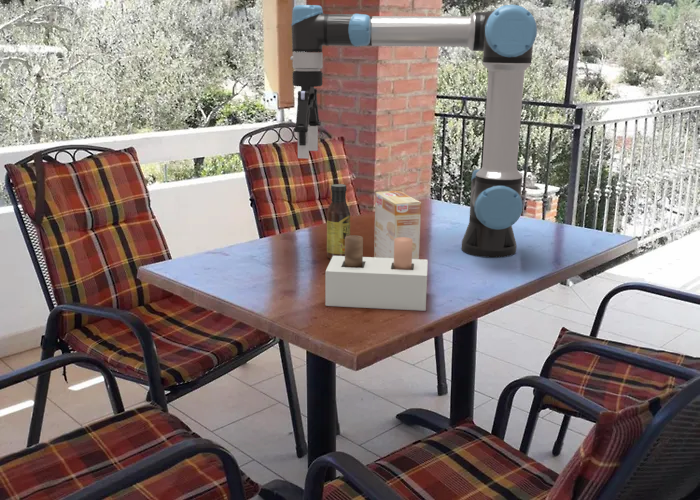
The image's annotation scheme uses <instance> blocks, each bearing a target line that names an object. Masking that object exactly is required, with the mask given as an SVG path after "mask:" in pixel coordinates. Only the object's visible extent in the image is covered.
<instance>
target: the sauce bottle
mask: <svg viewBox="0 0 700 500" xmlns="http://www.w3.org/2000/svg"><path fill="white" fill-rule="evenodd" d="M347 189H348V188H347V185H346V184H343V183H339V184H338V183H336V184H335V183H334V184H331V186H330V190H331V202H330V204H329V206H328V208H327V211H326V215H327V216H326V218H327V219H326V254H327V255H326V257H327V258H328V259H329V260H331V259H332V257H333V256H345V237H346V236H350V235H351V213H350V209H349V207H348V204H347V198H346V197H347V195H346V194H347Z"/></svg>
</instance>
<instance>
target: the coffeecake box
mask: <svg viewBox="0 0 700 500" xmlns="http://www.w3.org/2000/svg"><path fill="white" fill-rule="evenodd" d="M374 195H375V197H374V198H375V203H374V204H375V205H374V206H375V207H374V242H373V243H374V247H373V251H374V252H373V254H374V255H373V257H377V258H394V239H395V238H398V237H407V238H411V239H412V240H413V242H412V259H420V243H421V242H420V241H421V221H422V220H421V219H422V218H421V217H422V216H421V215H422V213H421V212H422V202H421V201H419V200H418V199H415V198H414V197H411V196H410V195H408V194H406V193H405V192H403V191H401V190H390V191H389V190H388V191H375V194H374Z"/></svg>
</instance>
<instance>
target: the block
mask: <svg viewBox="0 0 700 500" xmlns="http://www.w3.org/2000/svg"><path fill="white" fill-rule="evenodd" d="M428 261H429V259H425V258H424V259H420V258H419V259H412V270H397V269H394V258H377V257H374V256H372V257H371V256H363V266H362V268H351V267H345V256H333V257H332V259H330V261H329V263H328V265H327V267H326V270H325V276H324V277H325V283H324V284H325V290H324V291H325V298H324V299H325V300H324V301H325V302H324V303H325V306H326V307H342V308H343V307H344V308H360V309H361V308H363V309H366V308H367V309H383V310H384V309H385V310H402V311H403V310H404V311H405V310H406V311H424V312H425V311H427V288H428V287H427V284H428Z"/></svg>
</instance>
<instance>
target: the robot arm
mask: <svg viewBox="0 0 700 500" xmlns="http://www.w3.org/2000/svg"><path fill="white" fill-rule="evenodd" d="M291 17H292V18H291V24H290V25H291V40H292V41H291V42H292V55H291V56H290V58H289V59H290V61H292V69H294V70H293V72H292V85H293V86H294V87H300V90H298V91H297V108H296V120H295V128H293V132H294V133H297V159H306V160H307V159H310V152H317V151H319V149H318V148H319V139H318V138H319V135H318V133H319V132H318V130H319V129H318V128H319V126H321V125H322V124H321V121H320V118H319V105H318V89H317V88H318V87H322V86H323V72H322V69H323V68H324V66H323V64H324V63H323V62H324V61H323V57H324V55H323V46H326V47H327V46H331V47H332V46H333V47H334V46H335V47H336V46H337V47H338V46H341V47H437V48H438V47H441V48H442V47H447V48H449V47H450V48H451V47H452V48H454V47H455V48H456V47H457V48H468V49H469V50H470V51H471V52H483V54H482V65H483V66H484V67H485V68H486V69H487V71H488V73H487V86H486V87H487V90H486V92H487V93H486V105H485V106H486V107H485V118H484V120H485V121H484V122H485V123H484V135H483V152H482V167H481V168H477V169H474V170H473V171H472V173H471V178H470V182H471V185H470V186H471V188H470V203H469V204H470V205H469V206H470V207H469V221H468V225H467V227H466V230H465V232H464V234H463V238H462V240H461V251H462V252H463V253H466V254H467V255H471V256H475V257H482V258H490V259H491V258H496V259H497V258H506V257H510V256H513V255H515V254H516V253H517V241H516V238H515V234H514V229H513V225H514V224H516V223H517V221H519V219H520V217H521V216H522V213H523V207H524V205H523V200H522V199H523V198H522V185H523V184H522V182H523V174H521V172H520V171H519V169H518V158H519V146H520V132H521V122H522V121H521V117H522V103H523V95H524V94H523V93H524V91H523V90H524V78H525V72H526V70H527V69H528V68H529V67H530V66H531V65H532V59H533V48H534V43H535V42H536V38H537V35H538V27H537V26H538V25H537V22H536V19H535V17H534V15H533V14H532V13H531V12H530V11H529V10H528V9H526V7H523V6H521V5H518V4H505V5H502V6H500V7H498V8H496V9H495V10H489V11H473V12H472V13H471V14H470V15H467V16H465V15H462V16H458V15H454V16H452V15H451V16H450V15H449V16H448V15H447V16H445V15H444V16H443V15H441V16H439V15H437V16H435V15H434V16H433V15H430V16H429V15H422V16H421V15H419V16H417V15H414V16H413V15H410V16H409V15H408V16H407V15H406V16H405V15H403V16H402V15H392V16H391V15H381V16H380V15H379V16H378V15H374V16H373V15H372V16H370V15H368V14H365V13H364V14H363V13H335V14H334V13H332V14H331V13H324V11H323V7H322V6H321V5H316V4H312V5H311V4H298V5H294V7H293V8H292V15H291ZM316 87H317V88H316Z"/></svg>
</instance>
